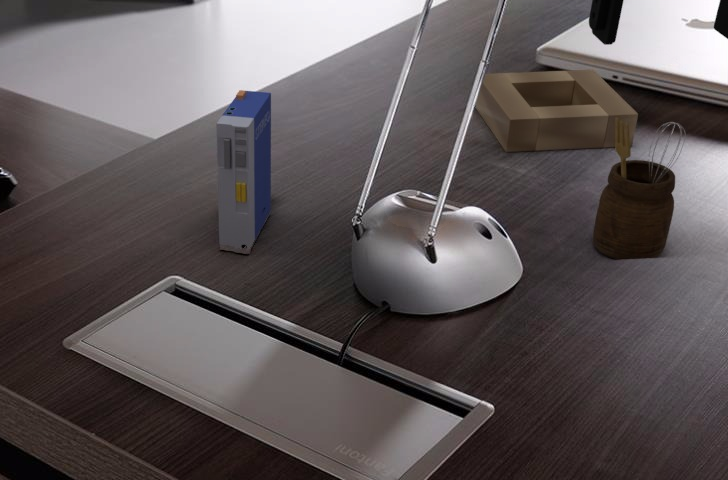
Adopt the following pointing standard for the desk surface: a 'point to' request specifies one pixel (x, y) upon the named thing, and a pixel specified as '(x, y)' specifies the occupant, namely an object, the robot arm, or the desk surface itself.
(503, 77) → the socket pad
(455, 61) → the desk surface
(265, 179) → the blue grey plc module
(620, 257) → the utensil holder
